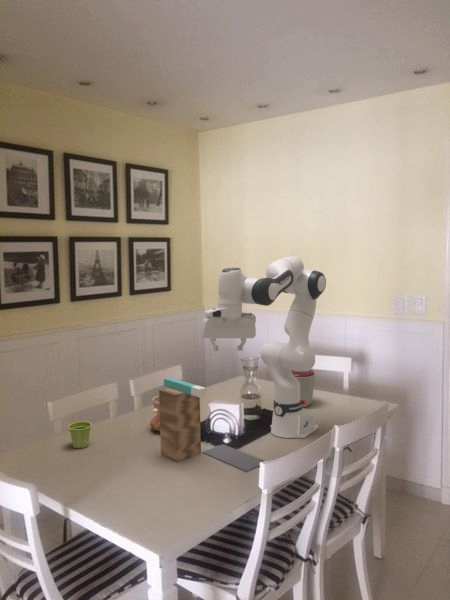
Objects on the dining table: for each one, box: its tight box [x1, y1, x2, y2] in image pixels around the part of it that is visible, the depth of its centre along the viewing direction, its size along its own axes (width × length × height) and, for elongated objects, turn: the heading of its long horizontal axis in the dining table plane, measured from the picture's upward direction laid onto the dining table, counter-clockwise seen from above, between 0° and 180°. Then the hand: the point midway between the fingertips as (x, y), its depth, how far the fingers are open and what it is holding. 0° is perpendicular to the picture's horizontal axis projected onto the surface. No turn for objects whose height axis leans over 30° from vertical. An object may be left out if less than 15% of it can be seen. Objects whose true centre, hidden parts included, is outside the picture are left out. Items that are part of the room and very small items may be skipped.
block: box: [163, 376, 207, 398], centre depth 191 cm, size 3×22×3 cm, turn 43°
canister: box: [291, 369, 317, 408], centre depth 255 cm, size 18×18×21 cm
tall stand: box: [158, 387, 202, 463], centre depth 195 cm, size 12×10×26 cm
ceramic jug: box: [149, 395, 160, 433], centre depth 223 cm, size 18×14×14 cm
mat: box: [202, 443, 265, 473], centre depth 192 cm, size 11×24×1 cm, turn 43°
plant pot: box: [67, 421, 93, 449], centre depth 206 cm, size 9×9×9 cm
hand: (227, 350), depth 181 cm, fingers open, 8 cm apart
